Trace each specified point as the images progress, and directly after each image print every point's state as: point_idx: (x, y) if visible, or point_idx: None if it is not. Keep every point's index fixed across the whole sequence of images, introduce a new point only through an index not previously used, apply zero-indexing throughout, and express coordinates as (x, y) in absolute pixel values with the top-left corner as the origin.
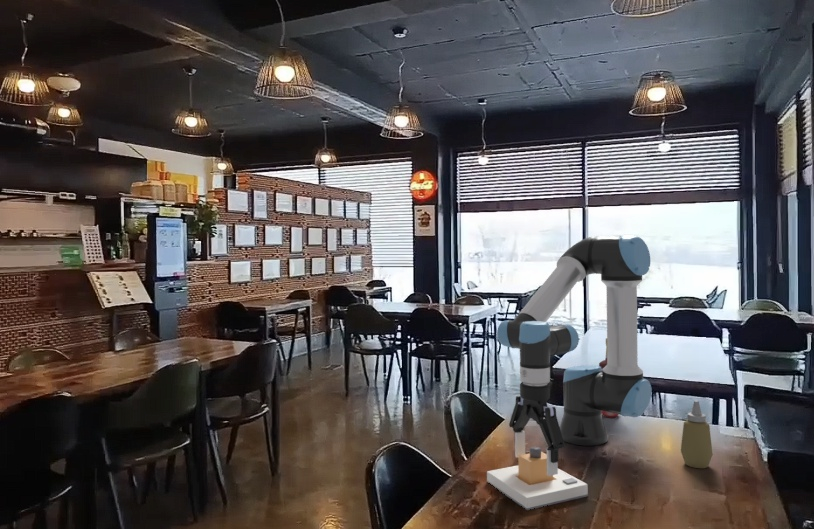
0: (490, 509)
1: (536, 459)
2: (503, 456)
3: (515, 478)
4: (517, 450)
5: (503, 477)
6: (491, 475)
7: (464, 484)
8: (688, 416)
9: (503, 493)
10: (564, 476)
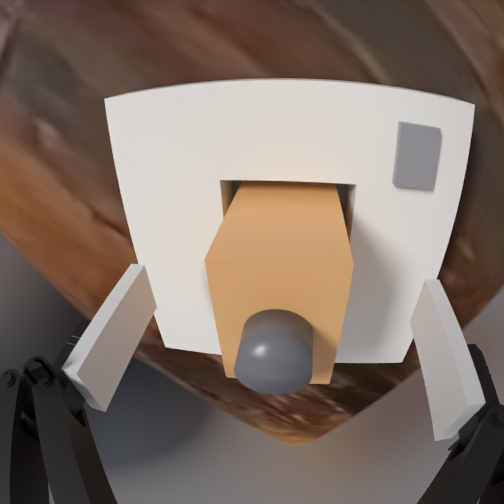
0: (332, 383)
1: (321, 352)
2: (5, 170)
3: None
4: (141, 329)
5: None
6: (193, 348)
7: (174, 359)
8: None
9: None
10: (346, 126)
